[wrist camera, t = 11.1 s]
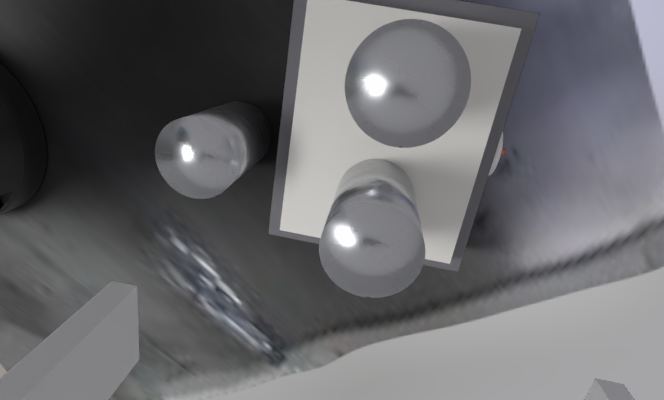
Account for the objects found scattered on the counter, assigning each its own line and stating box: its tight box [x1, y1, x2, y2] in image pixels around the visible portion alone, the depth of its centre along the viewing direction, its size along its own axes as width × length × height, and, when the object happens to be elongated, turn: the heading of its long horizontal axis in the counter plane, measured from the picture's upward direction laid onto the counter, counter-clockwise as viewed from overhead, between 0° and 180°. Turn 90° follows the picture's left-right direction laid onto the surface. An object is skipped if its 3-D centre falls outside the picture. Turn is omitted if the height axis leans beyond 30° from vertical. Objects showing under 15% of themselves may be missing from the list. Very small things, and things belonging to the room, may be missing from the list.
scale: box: [268, 0, 540, 272], centre depth 27 cm, size 15×17×5 cm
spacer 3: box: [319, 159, 425, 298], centre depth 22 cm, size 5×5×8 cm
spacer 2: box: [345, 19, 471, 148], centre depth 20 cm, size 5×5×8 cm
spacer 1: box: [155, 101, 271, 199], centre depth 27 cm, size 5×5×8 cm
